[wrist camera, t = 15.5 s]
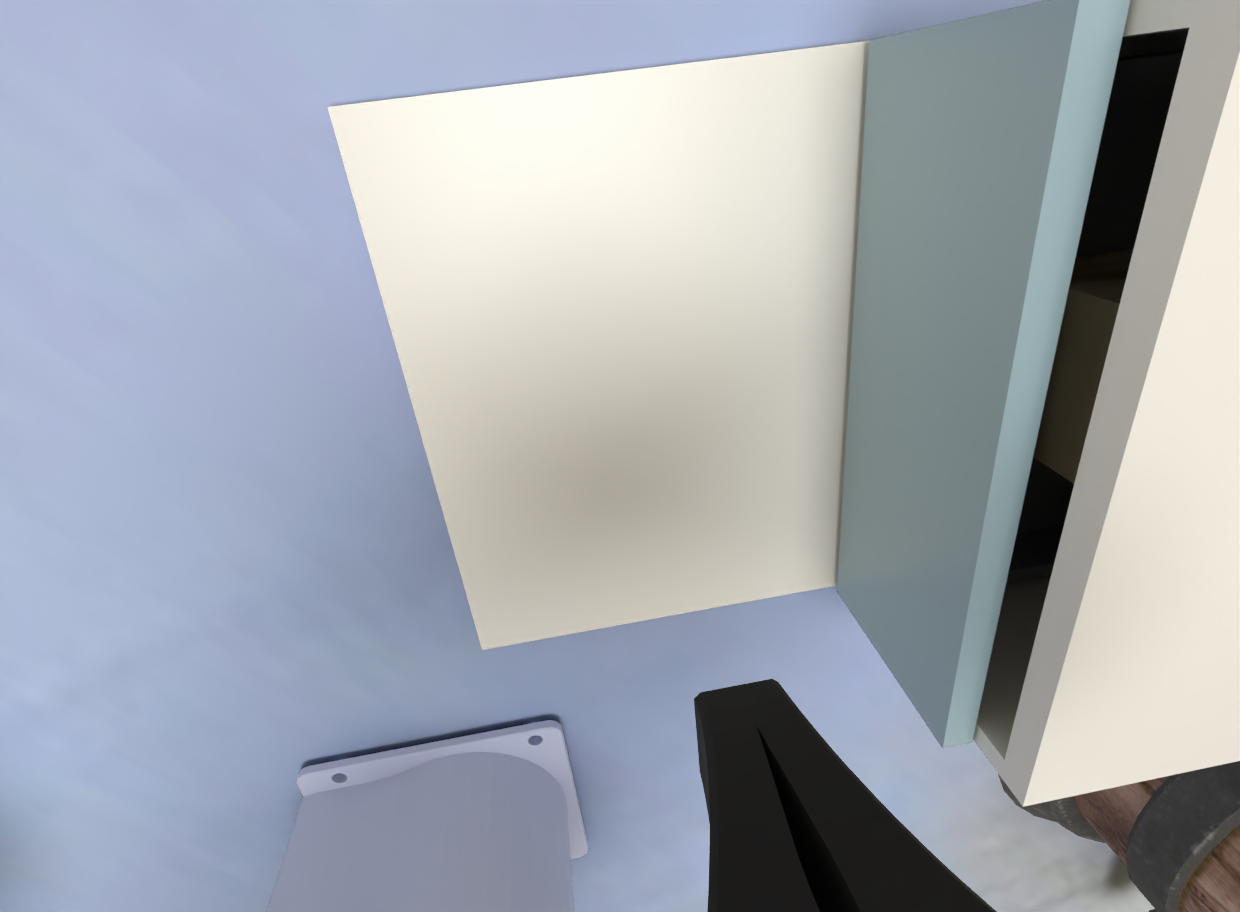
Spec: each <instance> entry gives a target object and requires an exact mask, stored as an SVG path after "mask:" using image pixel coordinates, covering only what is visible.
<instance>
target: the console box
mask: <svg viewBox="0 0 1240 912" xmlns="http://www.w3.org/2000/svg"><path fill="white" fill-rule="evenodd" d="M1180 50H1184V51H1183V55H1182V59H1181V63H1180V67H1179V71H1178V75H1177V79H1176V83H1175V87H1174V91H1173V95H1172V99H1171V103H1170V107H1169V111H1168V115H1167V119H1166V123H1165V127H1164V131H1163V135H1162V139H1161V143H1160V146H1159V150H1158V154H1157V158H1156V162H1155V166H1154V170H1153V174H1152V178H1151V182H1150V186H1149V190H1148V194H1147V198H1146V202H1145V206H1144V210H1143V214H1142V218H1141V222H1140V226H1139V230H1138V234H1137V238H1136V241H1135V245H1134V249H1133V253H1132V257H1131V261H1130V265H1129V269H1128V273H1127V277H1126V281H1125V285H1124V289H1123V293H1122V297H1121V301H1120V305H1119V309H1118V313H1117V317H1116V321H1115V325H1114V329H1113V333H1112V336H1111V340H1110V344H1109V348H1108V352H1107V356H1106V360H1105V364H1104V368H1103V372H1102V376H1101V380H1100V384H1099V388H1098V392H1097V396H1096V400H1095V404H1094V408H1093V412H1092V416H1091V420H1090V424H1089V428H1088V431H1087V435H1086V439H1085V443H1084V447H1083V451H1082V455H1081V459H1080V463H1079V467H1078V471H1077V475H1076V479H1075V483H1074V487H1073V491H1072V495H1071V499H1070V503H1069V507H1068V511H1067V515H1066V519H1065V523H1064V526H1063V530H1062V534H1061V538H1060V542H1059V546H1058V550H1057V554H1056V558H1055V562H1054V566H1053V570H1052V574H1051V576H1048V577H1042V578H1037V579H1032V580H1026V581H1021V582H1016V583H1010V584H1006V586H1005V591H1004V596H1003V600H1002V605H1001V610H1000V614H999V619H998V624H997V629H996V633H995V638H994V643H993V647H992V652H991V657H990V661H989V666H988V671H987V675H986V680H985V685H984V689H983V694H982V699H981V704H980V708H979V713H978V718H977V722H976V727H975V732H974V736H973V740H974V741H975V742H976V744H977V745H978V746H979V748H980V749H981V751H982V752H983V753H984V755H985V756H986V757H987V759H988V760H989V761H990V763H991V764H992V766H993V767H994V768H995V770H996V771H997V772H998V774H999V775H1000V776H1001V778H1002V779H1003V781H1004V782H1005V783H1006V785H1007V786H1008V787H1009V789H1010V790H1011V791H1012V793H1013V794H1014V796H1015V797H1016V798H1017V800H1018V801H1019V802H1020V804H1021V805H1022V806H1023V807H1024V806H1029V805H1034V804H1038V803H1043V802H1048V801H1053V800H1057V799H1062V798H1067V797H1071V796H1076V795H1081V794H1086V793H1090V792H1095V791H1100V790H1104V789H1109V788H1114V787H1119V786H1123V785H1128V784H1133V783H1138V782H1142V781H1147V780H1152V779H1156V778H1161V777H1166V776H1171V775H1175V774H1180V773H1185V772H1190V771H1194V770H1199V769H1204V768H1208V767H1213V766H1218V765H1223V764H1227V763H1232V762H1237V761H1240V0H1130V5H1129V9H1128V14H1127V19H1126V23H1125V28H1124V33H1123V38H1122V42H1121V47H1120V52H1119V56H1118V58H1125V57H1133V56H1141V55H1149V54H1157V53H1164V52H1172V51H1180ZM868 53H869V41H863V42H855V43H847V44H839V45H831V46H822V47H814V48H806V49H798V50H790V51H782V52H773V53H765V54H757V55H749V56H741V57H732V58H724V59H716V60H708V61H700V62H692V63H683V64H675V65H667V66H659V67H651V68H642V69H634V70H626V71H618V72H610V73H602V74H593V75H585V76H577V77H569V78H561V79H552V80H544V81H536V82H528V83H520V84H512V85H503V86H495V87H487V88H479V89H471V90H462V91H454V92H446V93H438V94H430V95H421V96H413V97H405V98H397V99H389V100H381V101H372V102H364V103H356V104H348V105H340V106H331V107H328V110H329V114H330V117H331V121H332V124H333V128H334V131H335V135H336V139H337V142H338V146H339V149H340V153H341V156H342V160H343V163H344V167H345V170H346V174H347V177H348V181H349V184H350V188H351V191H352V195H353V198H354V202H355V205H356V209H357V212H358V216H359V219H360V223H361V226H362V230H363V233H364V237H365V240H366V244H367V247H368V251H369V255H370V258H371V262H372V265H373V269H374V272H375V276H376V279H377V283H378V286H379V290H380V293H381V297H382V300H383V304H384V307H385V311H386V314H387V318H388V321H389V325H390V328H391V332H392V335H393V339H394V342H395V346H396V349H397V353H398V356H399V360H400V363H401V367H402V370H403V374H404V378H405V381H406V385H407V388H408V392H409V395H410V399H411V402H412V406H413V409H414V413H415V416H416V420H417V423H418V427H419V430H420V434H421V437H422V441H423V444H424V448H425V451H426V455H427V458H428V462H429V465H430V469H431V472H432V476H433V479H434V483H435V486H436V490H437V494H438V497H439V501H440V504H441V508H442V511H443V515H444V518H445V522H446V525H447V529H448V532H449V536H450V539H451V543H452V546H453V550H454V553H455V557H456V560H457V564H458V567H459V571H460V574H461V578H462V581H463V585H464V588H465V592H466V595H467V599H468V602H469V606H470V610H471V613H472V617H473V620H474V624H475V627H476V631H477V634H478V638H479V641H480V645H481V648H482V650H486V649H491V648H497V647H502V646H508V645H513V644H519V643H524V642H530V641H535V640H540V639H546V638H551V637H557V636H562V635H568V634H573V633H579V632H584V631H590V630H595V629H601V628H606V627H612V626H617V625H623V624H628V623H634V622H639V621H645V620H650V619H656V618H661V617H667V616H672V615H677V614H683V613H688V612H694V611H699V610H705V609H710V608H716V607H721V606H727V605H732V604H738V603H743V602H749V601H754V600H760V599H765V598H771V597H776V596H782V595H787V594H793V593H798V592H803V591H809V590H814V589H820V588H825V587H831V586H836V585H837V582H838V565H839V548H840V531H841V514H842V496H843V479H844V462H845V445H846V428H847V411H848V394H849V377H850V360H851V343H852V326H853V309H854V292H855V275H856V257H857V240H858V223H859V206H860V189H861V172H862V155H863V138H864V121H865V104H866V87H867V70H868Z"/></svg>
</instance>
